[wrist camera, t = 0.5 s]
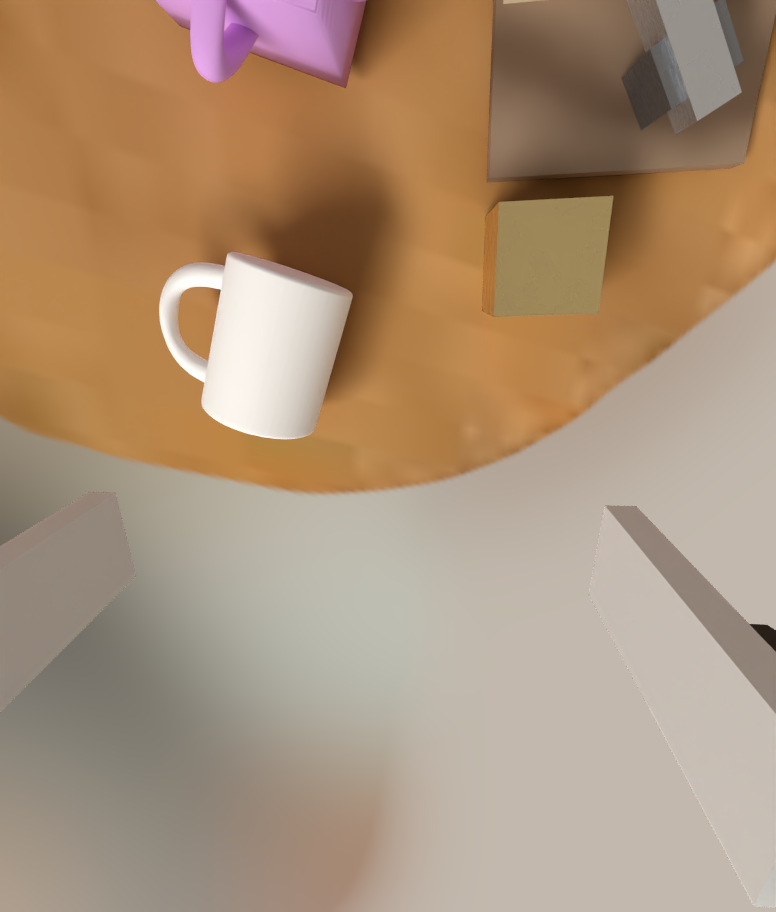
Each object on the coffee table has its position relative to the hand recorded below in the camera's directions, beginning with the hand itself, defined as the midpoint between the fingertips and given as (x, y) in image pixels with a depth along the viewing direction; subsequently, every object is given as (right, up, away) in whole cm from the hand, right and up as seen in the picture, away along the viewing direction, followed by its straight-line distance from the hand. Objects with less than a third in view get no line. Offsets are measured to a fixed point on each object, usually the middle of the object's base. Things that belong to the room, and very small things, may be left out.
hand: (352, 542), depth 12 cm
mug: (-8, +12, +22) cm, 26 cm away
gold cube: (+11, +16, +19) cm, 26 cm away
